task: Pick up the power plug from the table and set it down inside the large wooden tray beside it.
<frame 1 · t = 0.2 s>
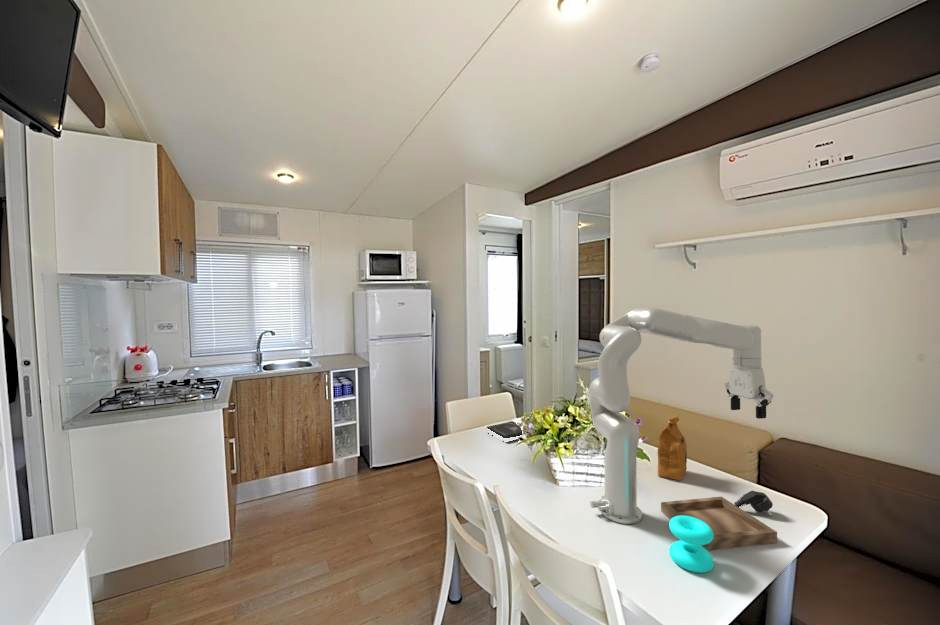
hand: (747, 413, 125), 30 cm above the table, tool pointing down, fingers open, 9 cm apart
coffee package: (672, 475, 148), on the table
wooden tray: (714, 525, 114), on the table
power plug: (749, 512, 121), on the table, touching wooden tray
donuts: (690, 562, 98), on the table
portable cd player: (509, 436, 195), on the table
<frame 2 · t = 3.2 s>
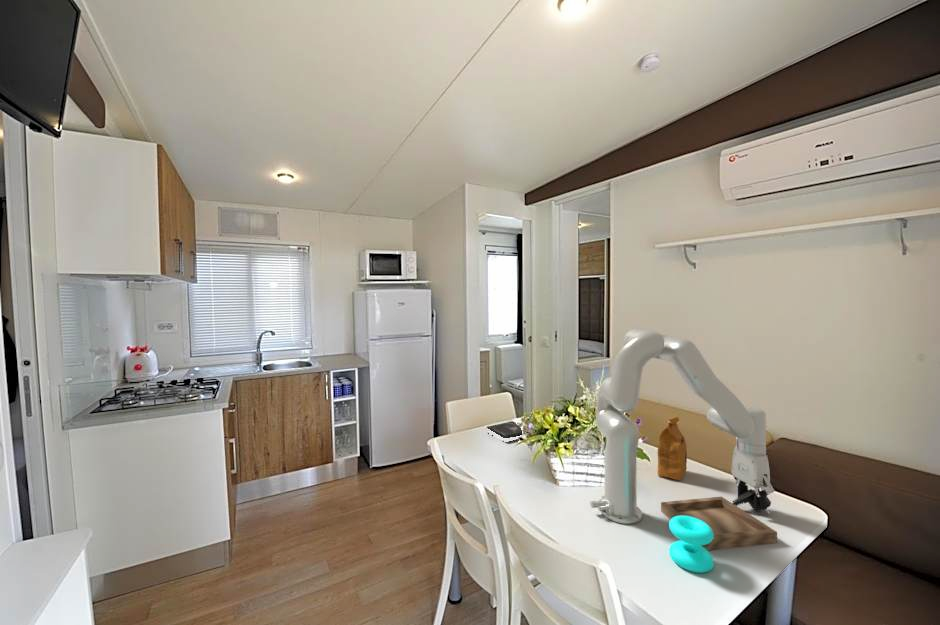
hand: (750, 502, 121), 3 cm above the table, tool pointing down, fingers closed on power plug, 5 cm apart
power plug: (747, 511, 122), on the table, touching gripper
everything else where it was.
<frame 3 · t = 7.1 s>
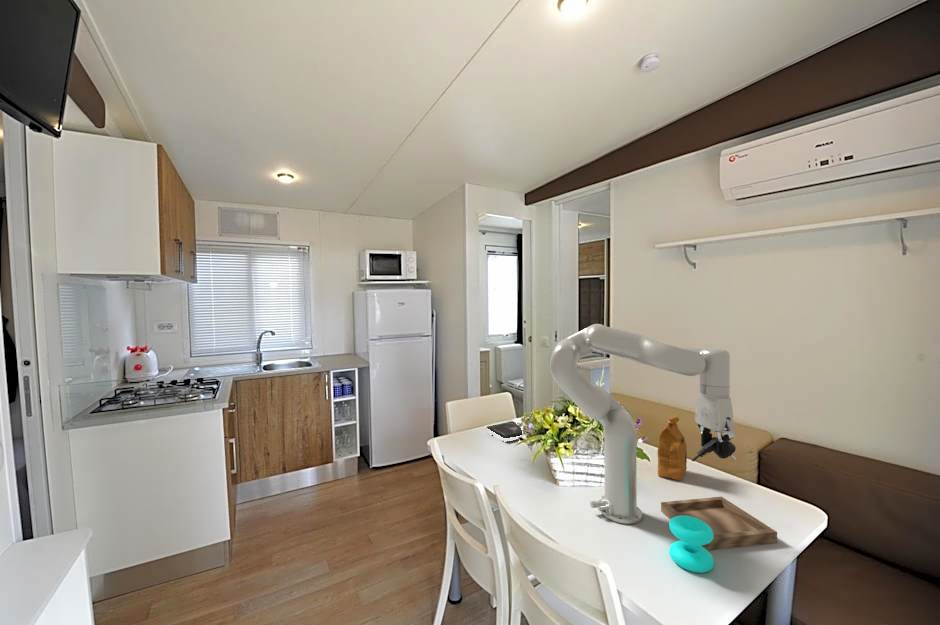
hand: (714, 449, 113), 23 cm above the table, tool pointing down, fingers closed on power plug, 5 cm apart
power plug: (713, 460, 114), point 19 cm above the table, touching gripper
everything else where it was.
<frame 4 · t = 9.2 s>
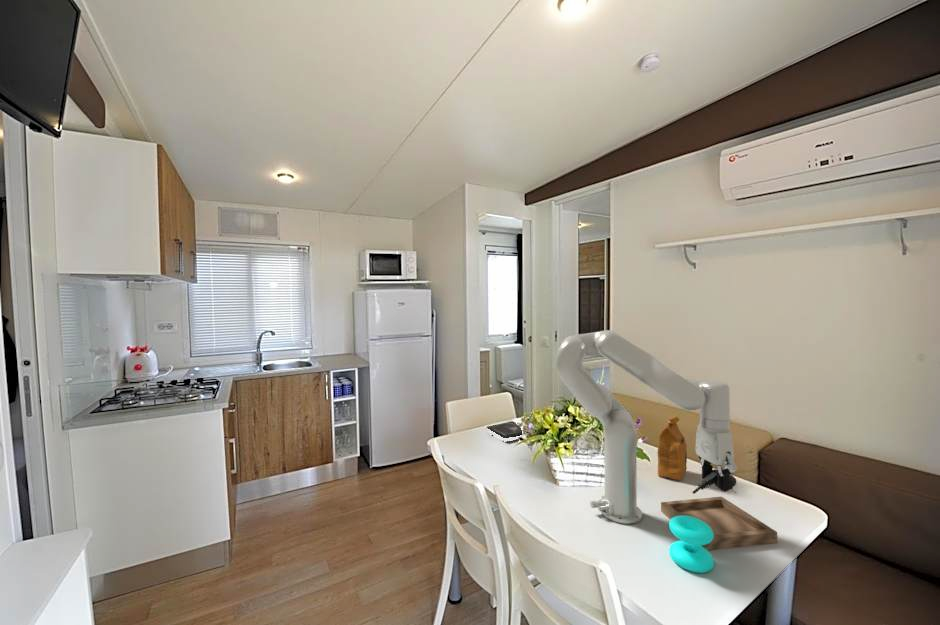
hand: (715, 482, 113), 13 cm above the table, tool pointing down, fingers closed on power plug, 5 cm apart
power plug: (714, 493, 114), point 10 cm above the table, touching gripper
everything else where it was.
when the fingers open (8 cm above the table, at t = 11.0 s): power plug drops 3 cm, resting on wooden tray.
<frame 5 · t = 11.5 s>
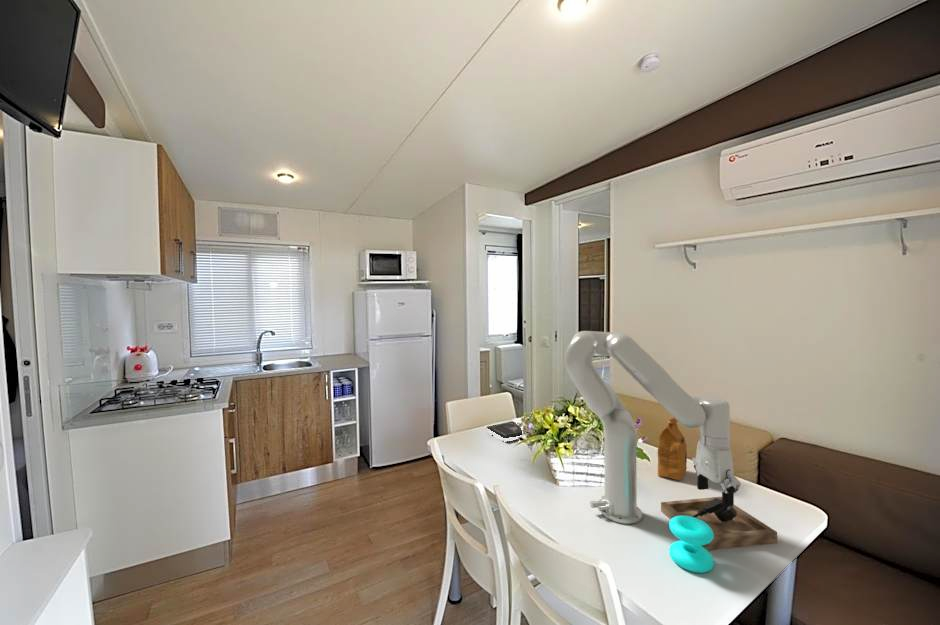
hand: (714, 496, 113), 9 cm above the table, tool pointing down, fingers open, 9 cm apart
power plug: (712, 521, 114), point 1 cm above the table, touching wooden tray
everything else where it was.
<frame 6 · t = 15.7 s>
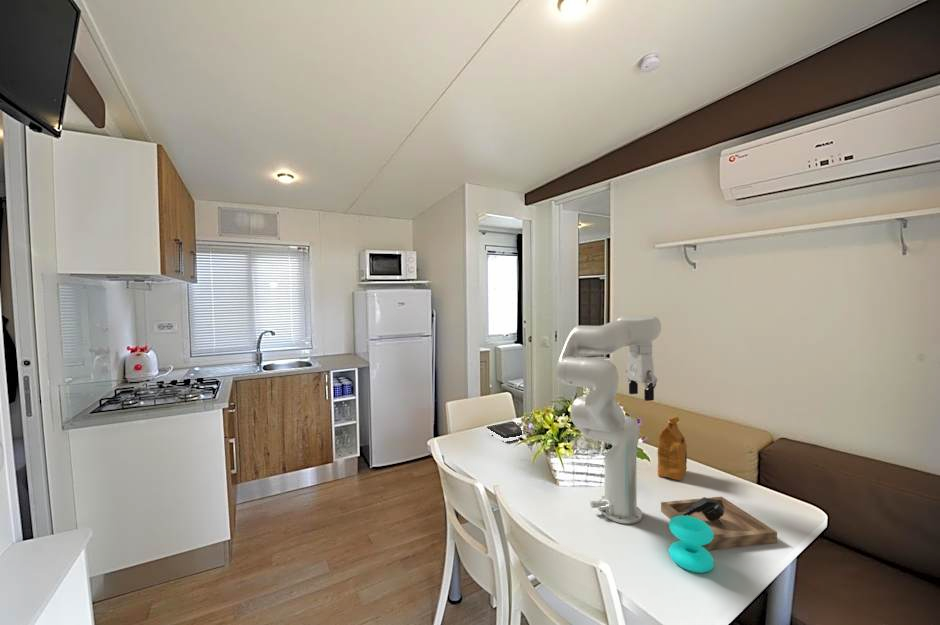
hand: (641, 396, 137), 33 cm above the table, tool pointing down, fingers open, 9 cm apart
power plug: (700, 520, 115), point 1 cm above the table, touching wooden tray
everything else where it was.
at the end: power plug inside the target area on the wooden tray (3.8 cm from its centre), point 0.8 cm above the wooden tray's base; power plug touching wooden tray; the gripper is holding nothing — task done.
